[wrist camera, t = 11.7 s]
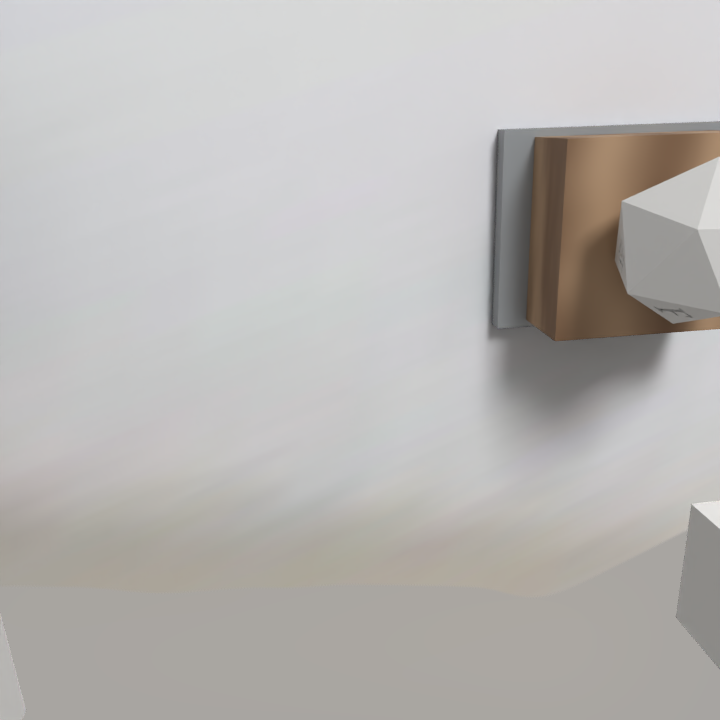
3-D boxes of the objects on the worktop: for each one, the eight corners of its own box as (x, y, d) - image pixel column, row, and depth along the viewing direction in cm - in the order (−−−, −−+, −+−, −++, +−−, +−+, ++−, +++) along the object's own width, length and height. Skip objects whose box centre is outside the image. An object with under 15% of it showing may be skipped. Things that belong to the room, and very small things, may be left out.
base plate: (492, 323, 49) (497, 328, 47) (498, 129, 44) (504, 129, 43) (703, 308, 50) (714, 313, 49) (729, 121, 46) (741, 120, 45)
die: (563, 200, 41) (613, 331, 35) (700, 97, 36) (783, 233, 30) (635, 253, 46) (689, 376, 40) (765, 169, 40) (846, 297, 35)
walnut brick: (526, 319, 48) (554, 341, 43) (534, 136, 44) (567, 138, 39) (688, 308, 49) (734, 327, 44) (711, 130, 45) (764, 130, 40)
